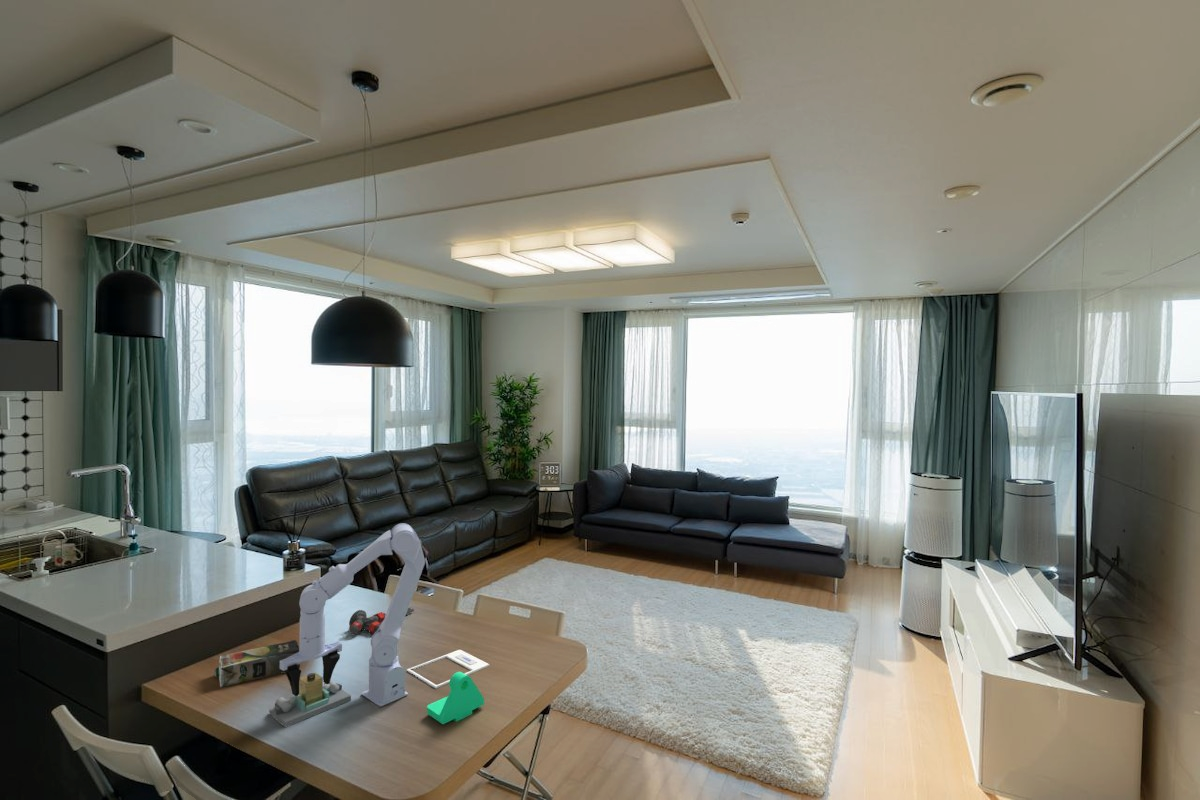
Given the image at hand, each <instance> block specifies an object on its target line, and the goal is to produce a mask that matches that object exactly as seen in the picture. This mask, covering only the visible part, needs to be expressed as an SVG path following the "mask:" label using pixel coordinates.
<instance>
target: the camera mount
mask: <svg viewBox="0 0 1200 800" xmlns="http://www.w3.org/2000/svg"><path fill="white" fill-rule="evenodd" d="M449 680H450V682H449V683H448V686H449V689H450V691H449V693H448V696H445V697H443V698H441V699H438V700H436V701H434V702H432V703H429V704H427V706H426V714H427V715H428V716H430V717H431V718H433V719H435V720H436V721H437V722H439V723H440V724H442V725H445V724H446V723H449V722H451V721H453V722H456V723H457V722H458V721H460V720H463V719H465V718H466V717H469V716H471V715H473V710H476V709H477V708H480V707H482V706H484V705H485V698H484V695H483V694H482V693H481V691H480V690H479V688H478V686H477V685H476V684H475V682H474V681H473V679H472V677H471V676H469V675H466V674H464V673H463V672H462V671H457V672H455V673H453V675H452V676H451V677H450V679H449Z"/></svg>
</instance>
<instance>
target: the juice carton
mask: <svg viewBox="0 0 1200 800" xmlns="http://www.w3.org/2000/svg"><path fill="white" fill-rule="evenodd" d="M298 652H299V644H298V641H297V640H296V639H294V640H290V641H286V642H280V643H275V644H269V645H266V646H261V647H256V648H250V649H247V650H241V651H237V652H236V651H235V652H232V653H226V654H222V655H220V656H219V662H218V666H217V667H216V668H214V676H215V678H217V679H218V680H219V687H220V688H223V687H228V686H231V685H238V684H241V683H244V682H249V681H253V680H254V681H255V680H258V679H262V678H268V677H271V675H272V676H275V675H274V674H277V675H279V674H278V673H280V674H282V673H281V672H284V671H283V670H281V669H280V660H283V659H286V658H288V657H290V656H292V655H294V654H296V653H298ZM297 666H298V669H300V668H301V664H298V665H297ZM300 670H301V669H300Z"/></svg>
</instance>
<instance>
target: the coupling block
mask: <svg viewBox="0 0 1200 800" xmlns="http://www.w3.org/2000/svg"><path fill="white" fill-rule="evenodd" d="M323 685H324V682H323V676H321V675H320V674H318V673H317V672H310V673H307V675H304V676H302V677H300V680H299V695H298V696H299V697H300V698H301V699H302V700H304V701H305V707H306V706H308V705H311V704H313V703H316V702H318V701H321V700H322V691H323Z"/></svg>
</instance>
